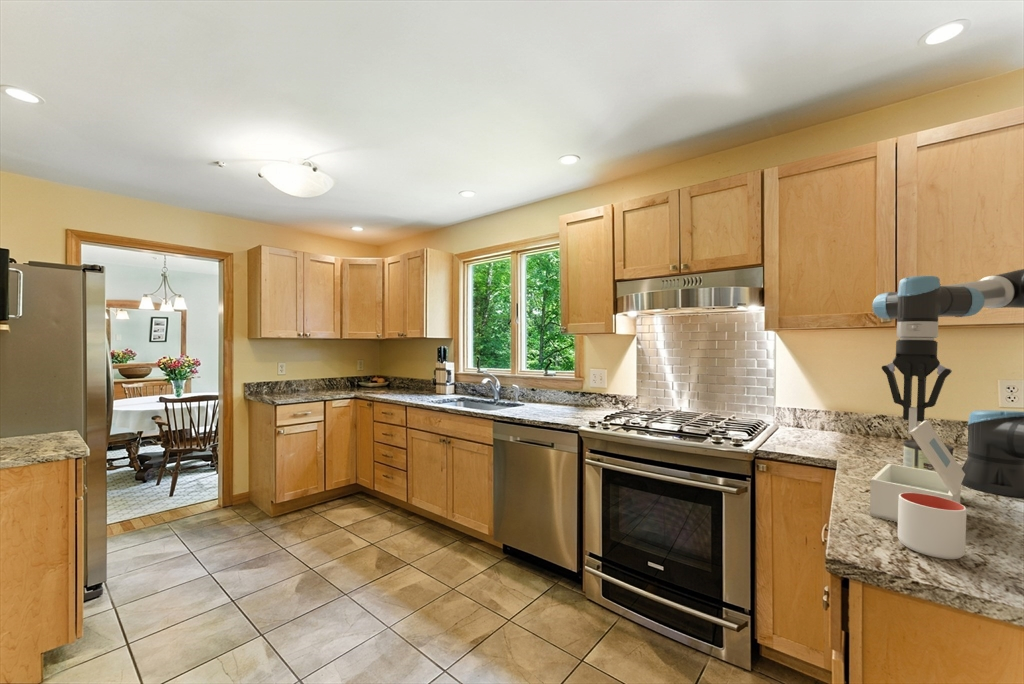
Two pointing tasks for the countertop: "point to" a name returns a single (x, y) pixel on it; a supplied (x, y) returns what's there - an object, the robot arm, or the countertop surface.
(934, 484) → the box
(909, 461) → the coffee can
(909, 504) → the cup
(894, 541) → the countertop surface
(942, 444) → the lid
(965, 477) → the robot arm
